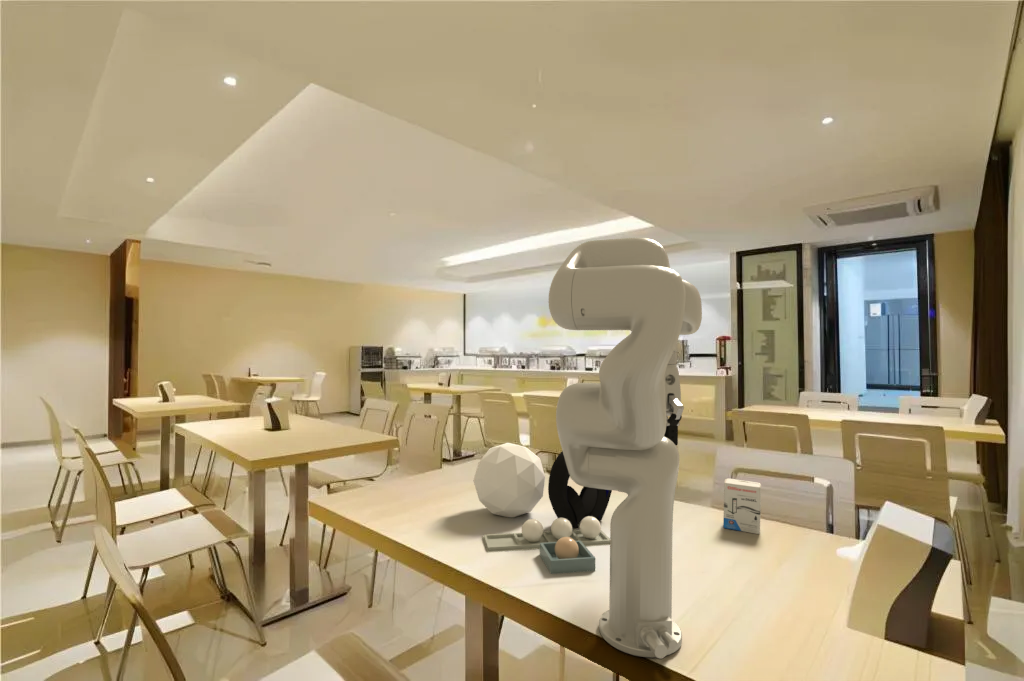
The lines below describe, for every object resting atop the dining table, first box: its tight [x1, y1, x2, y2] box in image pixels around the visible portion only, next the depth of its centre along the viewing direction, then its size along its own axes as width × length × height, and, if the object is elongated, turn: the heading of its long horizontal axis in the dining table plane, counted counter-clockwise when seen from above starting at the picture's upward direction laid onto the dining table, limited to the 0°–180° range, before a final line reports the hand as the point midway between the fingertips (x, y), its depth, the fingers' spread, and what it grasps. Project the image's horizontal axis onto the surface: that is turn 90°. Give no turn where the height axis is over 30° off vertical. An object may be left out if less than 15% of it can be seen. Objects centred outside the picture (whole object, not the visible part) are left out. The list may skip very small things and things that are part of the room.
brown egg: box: [555, 537, 579, 559], centre depth 102 cm, size 5×5×5 cm
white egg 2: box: [550, 518, 573, 540], centre depth 114 cm, size 5×5×5 cm
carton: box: [481, 529, 610, 553], centre depth 114 cm, size 9×29×1 cm, turn 101°
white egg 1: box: [521, 518, 544, 542], centre depth 113 cm, size 5×5×5 cm
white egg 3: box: [579, 516, 602, 539], centre depth 116 cm, size 5×5×5 cm
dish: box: [539, 541, 596, 575], centre depth 102 cm, size 9×9×3 cm
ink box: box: [722, 477, 762, 535], centre depth 125 cm, size 9×5×12 cm, turn 62°
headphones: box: [547, 450, 613, 529], centre depth 127 cm, size 19×7×20 cm, turn 129°
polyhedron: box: [473, 442, 546, 518], centre depth 134 cm, size 19×20×20 cm
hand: (657, 440), depth 103 cm, fingers open, 9 cm apart
